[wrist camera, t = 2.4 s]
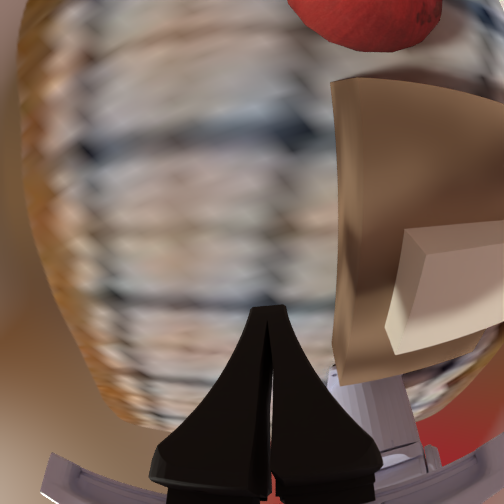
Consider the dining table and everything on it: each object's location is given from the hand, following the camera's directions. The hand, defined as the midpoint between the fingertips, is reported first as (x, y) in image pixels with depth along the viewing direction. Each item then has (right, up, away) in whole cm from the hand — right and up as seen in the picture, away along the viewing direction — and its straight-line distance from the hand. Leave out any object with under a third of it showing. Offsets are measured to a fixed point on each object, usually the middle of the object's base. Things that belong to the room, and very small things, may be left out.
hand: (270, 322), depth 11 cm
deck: (+10, +4, +4) cm, 11 cm away
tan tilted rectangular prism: (+10, +2, 0) cm, 11 cm away
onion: (+3, +14, -2) cm, 15 cm away
